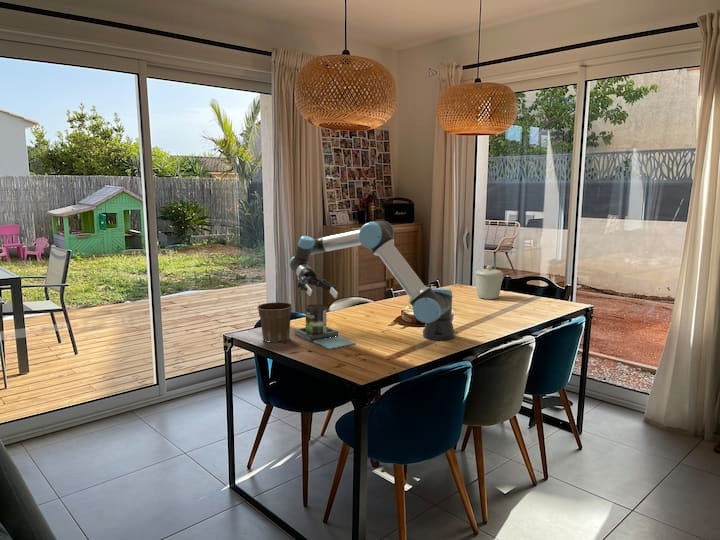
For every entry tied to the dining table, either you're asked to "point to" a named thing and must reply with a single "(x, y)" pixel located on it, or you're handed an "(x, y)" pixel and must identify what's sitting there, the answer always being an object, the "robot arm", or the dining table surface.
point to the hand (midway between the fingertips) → (323, 294)
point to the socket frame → (303, 334)
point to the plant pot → (275, 321)
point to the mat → (334, 342)
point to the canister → (488, 282)
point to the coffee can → (316, 319)
